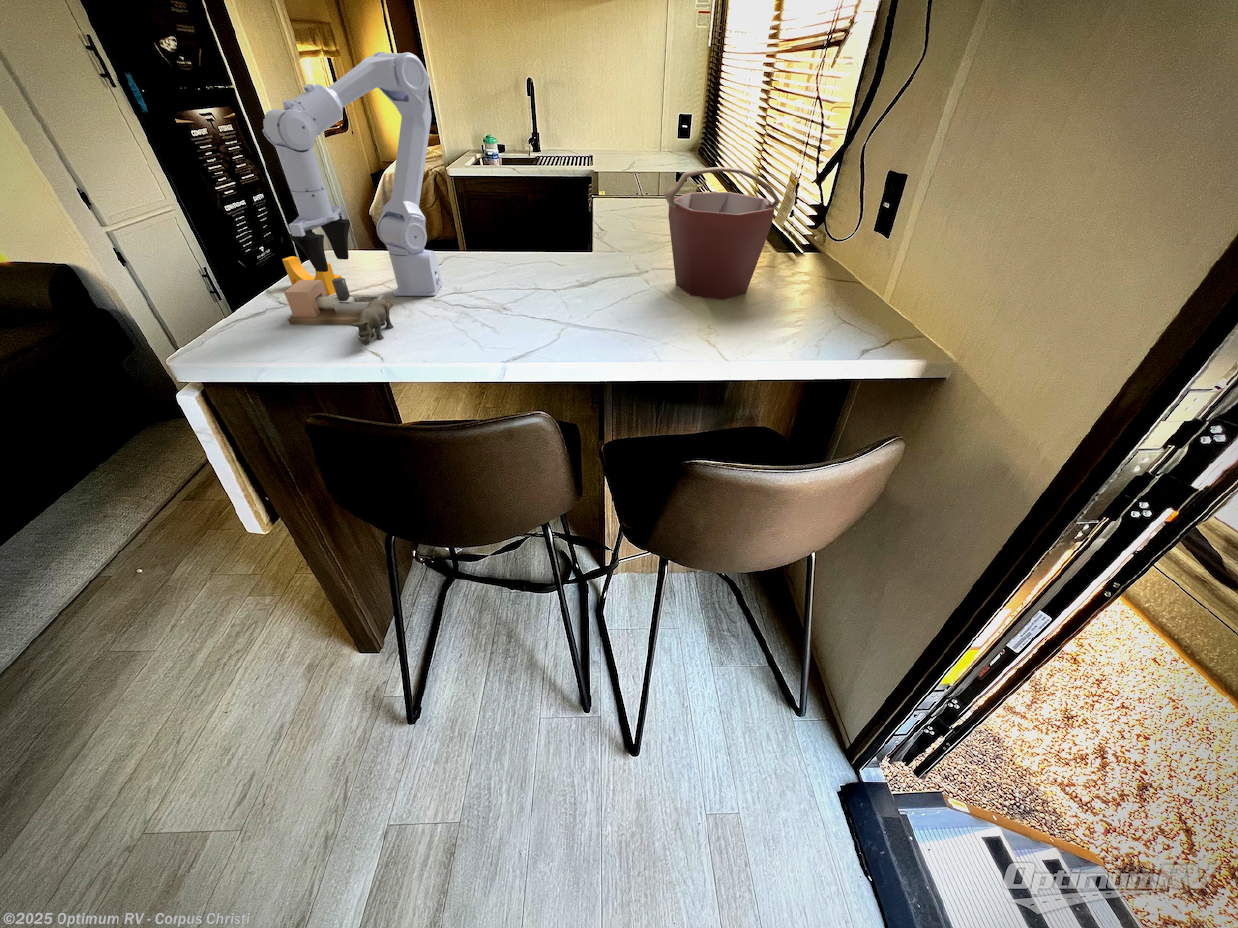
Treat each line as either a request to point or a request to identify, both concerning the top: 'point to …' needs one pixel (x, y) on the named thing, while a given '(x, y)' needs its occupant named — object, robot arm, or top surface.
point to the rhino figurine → (373, 321)
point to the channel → (355, 304)
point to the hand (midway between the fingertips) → (333, 265)
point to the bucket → (717, 236)
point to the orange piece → (299, 273)
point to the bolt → (340, 291)
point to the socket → (305, 297)
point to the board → (328, 317)
